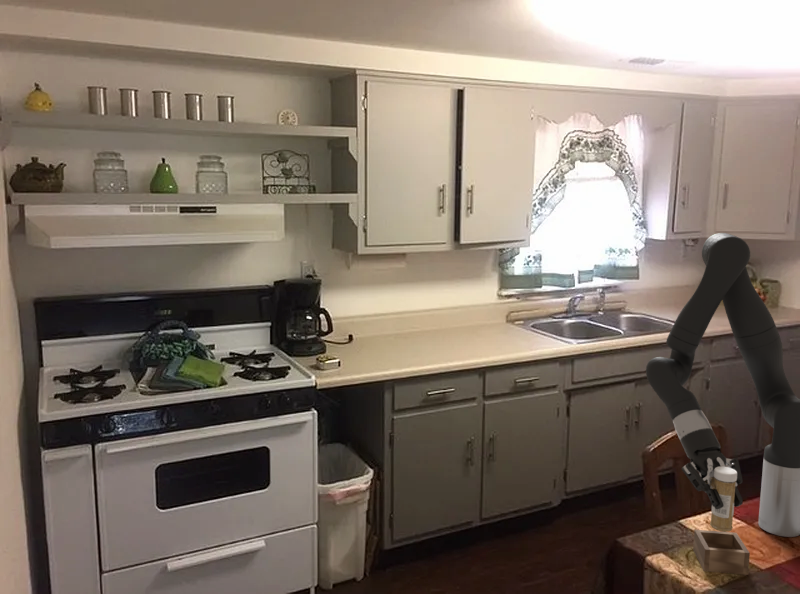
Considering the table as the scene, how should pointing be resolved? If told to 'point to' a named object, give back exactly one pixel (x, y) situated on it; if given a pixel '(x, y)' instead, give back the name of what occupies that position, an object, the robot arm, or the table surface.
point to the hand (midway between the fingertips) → (729, 506)
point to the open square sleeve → (721, 552)
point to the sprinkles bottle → (724, 498)
